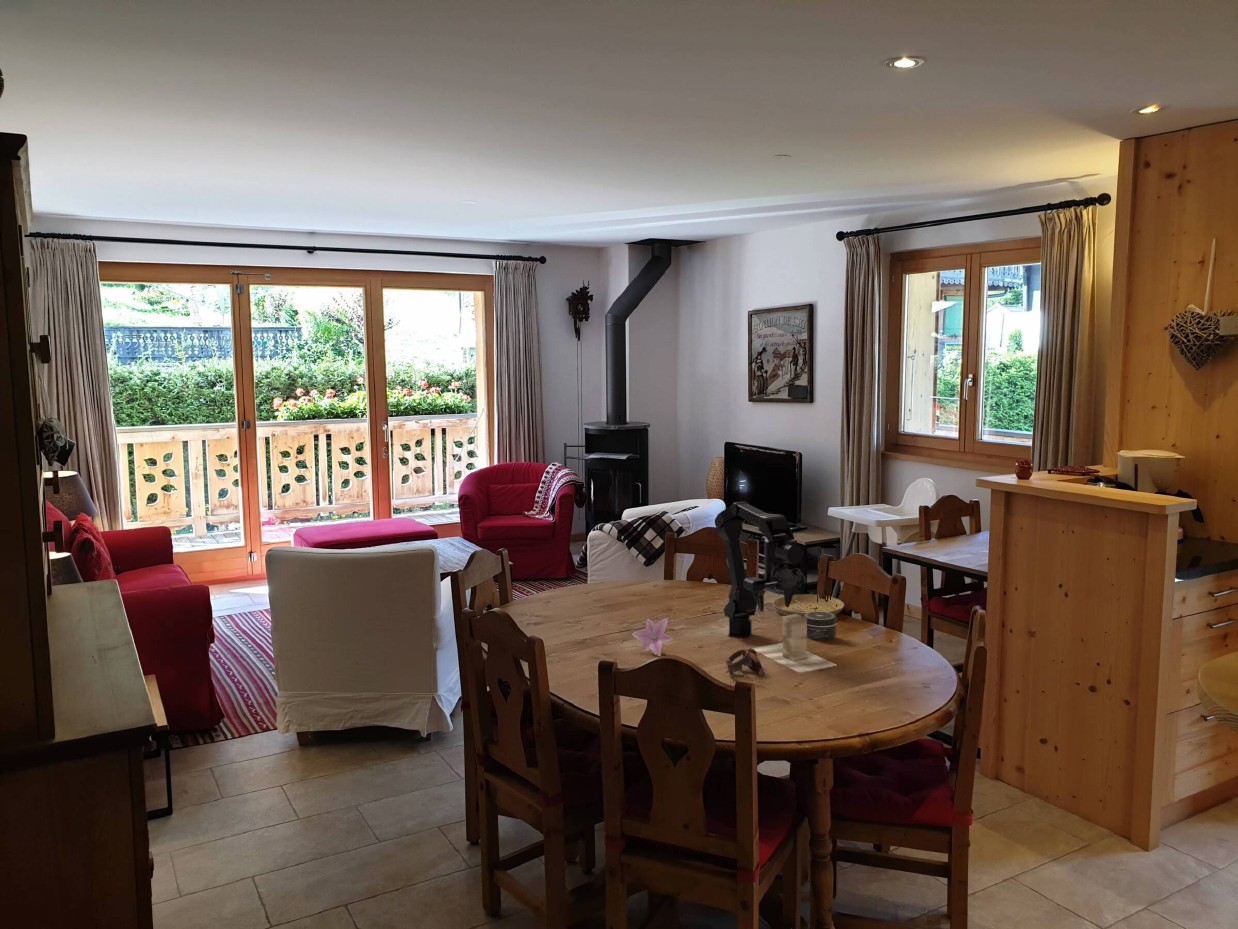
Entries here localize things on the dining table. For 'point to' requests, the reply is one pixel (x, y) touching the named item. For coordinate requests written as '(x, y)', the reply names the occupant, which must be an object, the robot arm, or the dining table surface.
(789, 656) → the beige tall block
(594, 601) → the dining table surface
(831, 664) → the birch board
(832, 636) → the jar
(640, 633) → the lily
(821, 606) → the plant saucer
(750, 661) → the brown looped strap
